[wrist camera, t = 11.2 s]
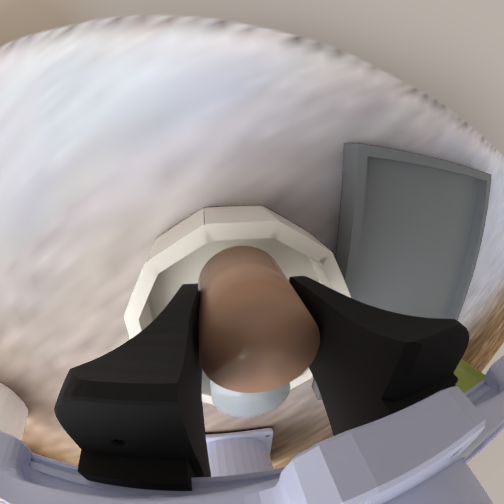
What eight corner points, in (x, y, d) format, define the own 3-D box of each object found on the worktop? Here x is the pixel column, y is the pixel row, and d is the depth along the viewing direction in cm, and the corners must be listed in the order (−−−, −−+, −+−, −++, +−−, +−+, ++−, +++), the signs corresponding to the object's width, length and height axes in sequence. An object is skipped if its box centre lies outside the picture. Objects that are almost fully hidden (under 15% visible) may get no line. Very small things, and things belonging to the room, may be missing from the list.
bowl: (312, 357, 18) (328, 388, 16) (158, 372, 17) (154, 408, 14) (332, 204, 15) (363, 219, 12) (126, 212, 13) (106, 230, 10)
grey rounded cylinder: (273, 353, 17) (293, 405, 13) (216, 368, 16) (223, 423, 12) (263, 306, 15) (285, 357, 11) (198, 323, 15) (200, 379, 11)
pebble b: (279, 317, 13) (311, 383, 9) (201, 323, 12) (205, 397, 8) (284, 243, 12) (328, 294, 8) (194, 247, 11) (192, 306, 7)
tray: (432, 349, 22) (440, 358, 21) (311, 386, 20) (318, 399, 18) (478, 171, 16) (491, 174, 14) (343, 143, 13) (358, 143, 12)
